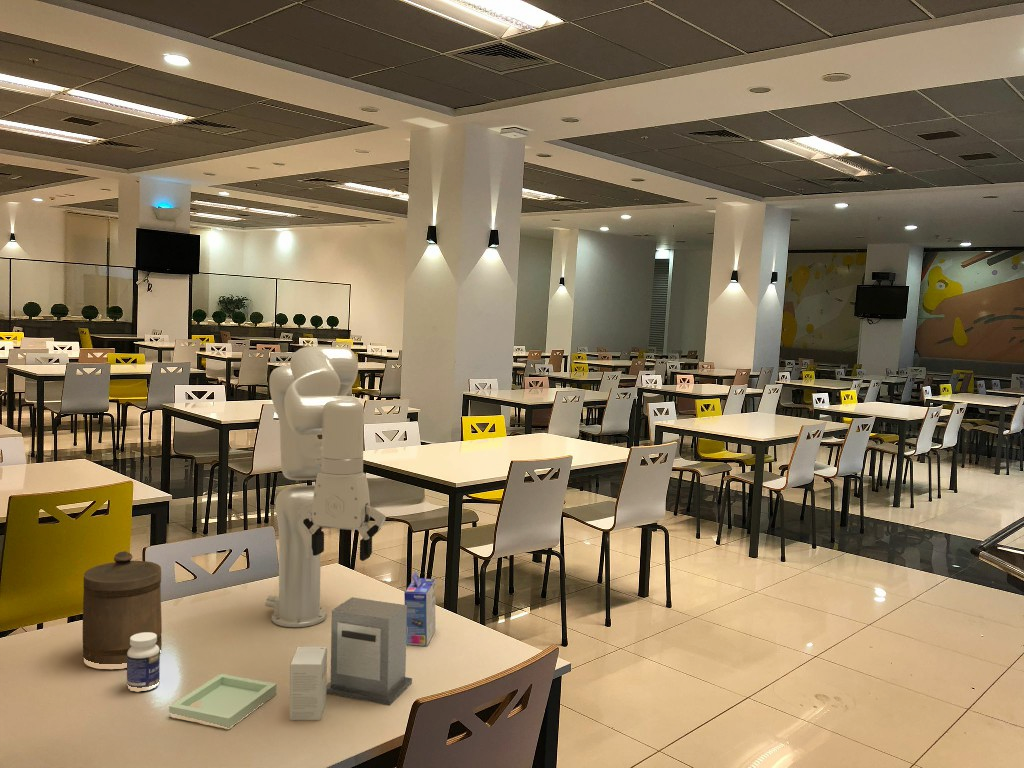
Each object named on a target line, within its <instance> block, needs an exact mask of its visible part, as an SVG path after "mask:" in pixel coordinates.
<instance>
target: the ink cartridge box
mask: <svg viewBox="0 0 1024 768" xmlns="http://www.w3.org/2000/svg"><path fill="white" fill-rule="evenodd" d="M411 578H412V581H411V582H410V584H409V585H408V587H407V588H406V590H405V591H404V594H403V595H404V605H407V627H406V644H407V645H409V646H418V645H419V647H421V646H422V647H426V646H428V645H429V643H430V641H431V640H432V637H433V636H434V634H435V631H436V579H435V578H423V577H421V578H420V577H419V574H418V573H417V571H415V572H414V573H413V575H412V577H411ZM407 645H406V646H407Z"/></svg>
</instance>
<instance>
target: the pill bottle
mask: <svg viewBox="0 0 1024 768" xmlns="http://www.w3.org/2000/svg"><path fill="white" fill-rule="evenodd" d="M156 642H157V635H156V634H155V633H151V632H144V633H138V634H135V635H133V636H131V637H130V645H131V646H132V647H131V648H130V649H129V650H128V653H127V669H126V685H127V684H128V685H129V686H131V687H137V688H142V687H149V686H152V685H155V684H157V683H158V682H159V683H160V681H159V680H160V678H161V677H160V674H161V673H160V670H161V669H160V662H161V661H160V659H161V658H160V655H161V653H160V649H159V647H158V646H157V645H156V644H155V643H156Z"/></svg>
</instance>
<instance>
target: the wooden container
mask: <svg viewBox="0 0 1024 768" xmlns="http://www.w3.org/2000/svg"><path fill="white" fill-rule="evenodd" d="M161 583H162V568H161V565H160V564H157V563H155V562H154V561H153V562H152V561H146V560H133V555H132V554H131V553H130V552H129V551H127V550H126V551H125V550H124V551H118V553H116V554H114V557H113V561H112V562H108V563H103V564H98V565H96V566H93V567H90V568H89V569H87V570H86V571H85V572H84V573H83V596H82V597H83V599H82V600H83V601H82V603H83V604H82V605H83V606H82V658H83V657H84V658H85V659H86V660H88V661H91V662H94V663H99V664H122V663H127V653H128V650H129V649H130V648H131V647H132V646H131V645H130V637H131V636H133V635H135V634H138V633H144V632H151V633H155V634H156V635H157V642H156V643H155V644H156V645H157V646H158V647H159V649H160V650H161V651H162V642H163V641H162V631H163V629H162V627H163V625H162V622H163V621H162V620H163V619H162V596H161V595H162V591H161V590H162V589H161Z"/></svg>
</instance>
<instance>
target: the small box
mask: <svg viewBox="0 0 1024 768" xmlns="http://www.w3.org/2000/svg"><path fill="white" fill-rule="evenodd" d="M327 676H328V647H327V646H297V647H296V650H295V651H294V655H293V657H292V660H291V662H290V664H289V721H320V720H321V717H322V715H323V710H324V707H325V704H326V700H327V694H326V686H327V682H328V681H327V678H328V677H327Z"/></svg>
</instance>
